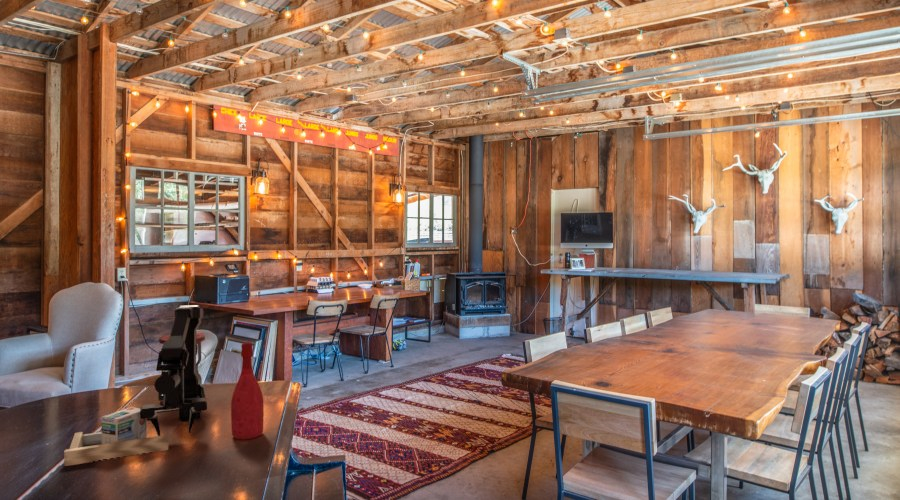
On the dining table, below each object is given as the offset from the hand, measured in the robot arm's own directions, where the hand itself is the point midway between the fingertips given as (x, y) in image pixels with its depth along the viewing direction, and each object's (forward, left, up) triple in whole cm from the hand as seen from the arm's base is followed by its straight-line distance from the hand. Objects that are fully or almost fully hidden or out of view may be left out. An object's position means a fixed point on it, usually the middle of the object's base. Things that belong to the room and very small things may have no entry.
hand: (174, 434), depth 182 cm
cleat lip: (+22, -8, -2) cm, 23 cm away
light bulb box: (+14, +1, -2) cm, 14 cm away
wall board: (+15, 0, -1) cm, 15 cm away
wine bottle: (-21, +7, -2) cm, 22 cm away
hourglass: (-5, -46, -2) cm, 47 cm away
